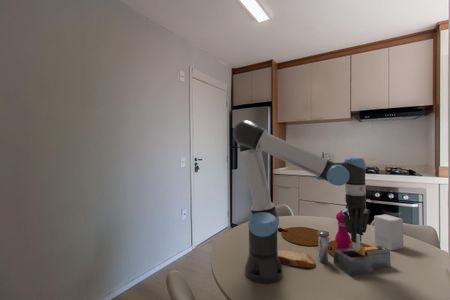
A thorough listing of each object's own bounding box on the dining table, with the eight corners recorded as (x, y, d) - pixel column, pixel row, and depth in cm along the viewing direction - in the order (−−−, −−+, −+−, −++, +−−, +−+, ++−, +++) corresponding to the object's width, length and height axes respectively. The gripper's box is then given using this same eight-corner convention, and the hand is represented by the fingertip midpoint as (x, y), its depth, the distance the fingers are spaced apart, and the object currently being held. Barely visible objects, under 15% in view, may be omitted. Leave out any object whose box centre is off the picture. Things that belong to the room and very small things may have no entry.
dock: (350, 276, 89) (349, 258, 89) (333, 263, 99) (333, 247, 99) (395, 270, 93) (395, 253, 93) (375, 258, 102) (375, 243, 102)
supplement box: (404, 248, 112) (403, 218, 112) (391, 251, 110) (390, 220, 110) (386, 241, 121) (386, 213, 121) (374, 243, 118) (373, 215, 118)
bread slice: (263, 256, 107) (263, 248, 107) (294, 250, 113) (294, 242, 113) (284, 275, 90) (284, 266, 90) (320, 267, 96) (320, 258, 96)
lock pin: (362, 255, 93) (362, 248, 93) (353, 250, 98) (353, 243, 98) (381, 253, 94) (381, 246, 94) (371, 248, 99) (371, 241, 99)
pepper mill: (334, 250, 111) (334, 210, 111) (335, 244, 118) (334, 206, 118) (351, 253, 108) (350, 212, 108) (351, 247, 114) (350, 208, 114)
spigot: (321, 264, 98) (321, 234, 98) (315, 258, 103) (314, 230, 103) (332, 263, 99) (331, 233, 99) (325, 257, 104) (324, 229, 104)
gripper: (348, 196, 90) (349, 254, 90) (376, 194, 92) (377, 251, 92) (335, 193, 98) (336, 247, 97) (361, 191, 100) (362, 244, 100)
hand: (356, 249), depth 95 cm, fingers closed
